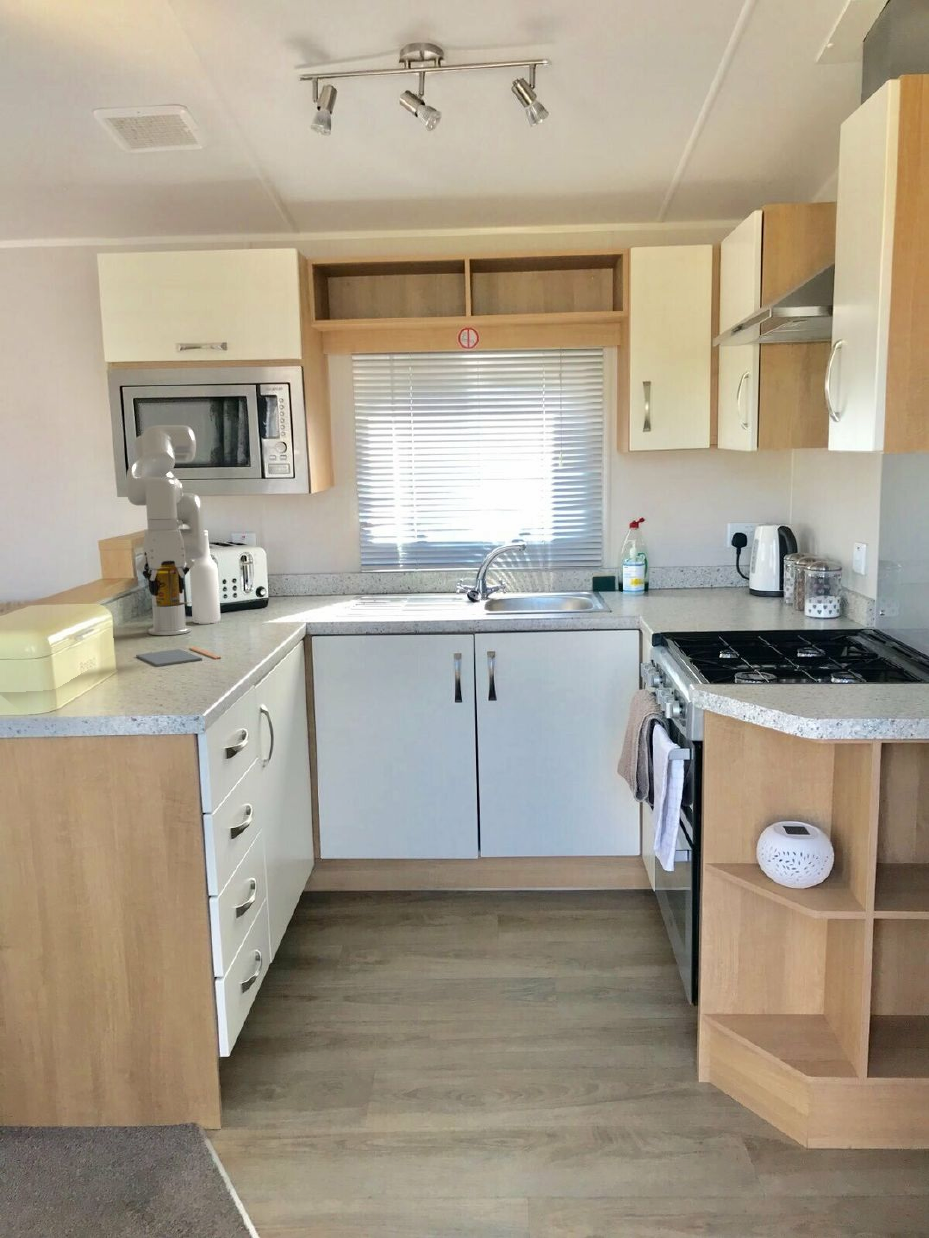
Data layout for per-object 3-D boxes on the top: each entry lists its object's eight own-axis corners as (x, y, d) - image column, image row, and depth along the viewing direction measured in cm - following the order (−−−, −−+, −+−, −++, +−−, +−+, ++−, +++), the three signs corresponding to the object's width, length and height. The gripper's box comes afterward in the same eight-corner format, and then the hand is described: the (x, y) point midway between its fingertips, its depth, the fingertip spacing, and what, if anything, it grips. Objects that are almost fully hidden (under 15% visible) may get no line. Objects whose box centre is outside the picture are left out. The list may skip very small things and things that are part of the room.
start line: (189, 649, 268) (189, 647, 268) (194, 648, 269) (194, 647, 269) (215, 659, 254) (215, 657, 254) (220, 658, 255) (220, 656, 255)
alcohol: (210, 625, 307) (205, 531, 302) (187, 623, 310) (181, 531, 305) (226, 620, 315) (221, 529, 310) (203, 619, 318) (197, 529, 313)
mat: (136, 656, 258) (136, 654, 258) (179, 651, 265) (179, 649, 265) (157, 666, 246) (157, 664, 245) (202, 660, 253) (201, 658, 253)
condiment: (149, 606, 252) (146, 561, 250) (171, 602, 259) (168, 557, 257) (170, 608, 249) (167, 562, 247) (192, 603, 256) (190, 559, 254)
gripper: (188, 523, 258) (192, 589, 261) (124, 526, 248) (129, 595, 251) (199, 524, 252) (203, 592, 255) (134, 528, 242) (139, 598, 245)
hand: (166, 593), depth 253 cm, fingers closed on condiment, 6 cm apart
